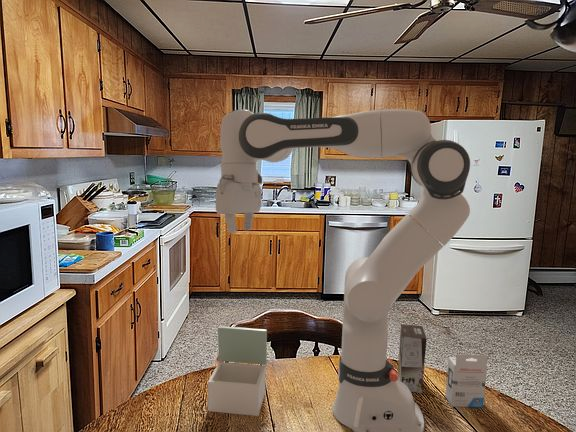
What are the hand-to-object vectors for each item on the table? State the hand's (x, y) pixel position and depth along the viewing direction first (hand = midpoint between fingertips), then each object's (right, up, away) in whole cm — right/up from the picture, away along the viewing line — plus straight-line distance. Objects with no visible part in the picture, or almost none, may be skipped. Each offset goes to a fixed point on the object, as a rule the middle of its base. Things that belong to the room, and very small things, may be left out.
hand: (240, 231), depth 101 cm
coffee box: (+47, -45, +15) cm, 67 cm away
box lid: (0, -31, +7) cm, 32 cm away
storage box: (-1, -45, +5) cm, 45 cm away
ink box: (+59, -46, +7) cm, 76 cm away
